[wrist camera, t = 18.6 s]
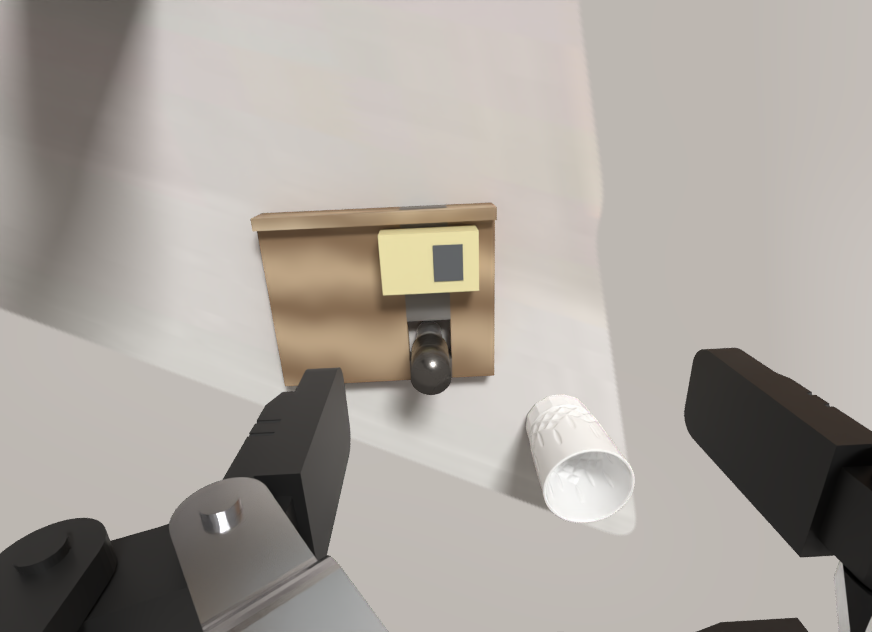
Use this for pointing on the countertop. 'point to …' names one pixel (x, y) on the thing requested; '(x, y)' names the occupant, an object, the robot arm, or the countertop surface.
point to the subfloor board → (368, 293)
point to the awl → (430, 360)
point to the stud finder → (429, 260)
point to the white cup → (577, 461)
